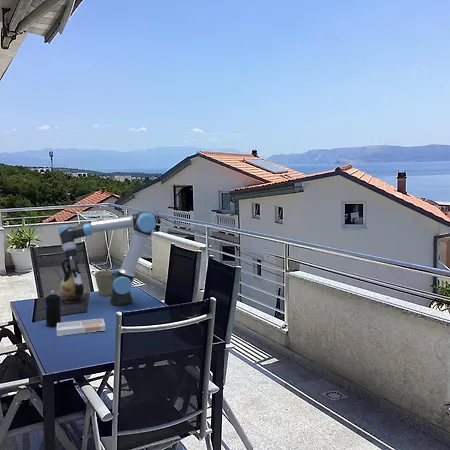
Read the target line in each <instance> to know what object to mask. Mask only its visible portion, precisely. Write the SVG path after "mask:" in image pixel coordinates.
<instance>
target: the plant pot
mask: <svg viewBox="0 0 450 450" xmlns="http://www.w3.org/2000/svg"><path fill="white" fill-rule="evenodd" d="M94 278H95V282H96V287H97V291H98V292H99V295H100V296H102V297H108V295H109V296H111V295H112V270H99V271H96V272H95V273H94Z"/></svg>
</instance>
